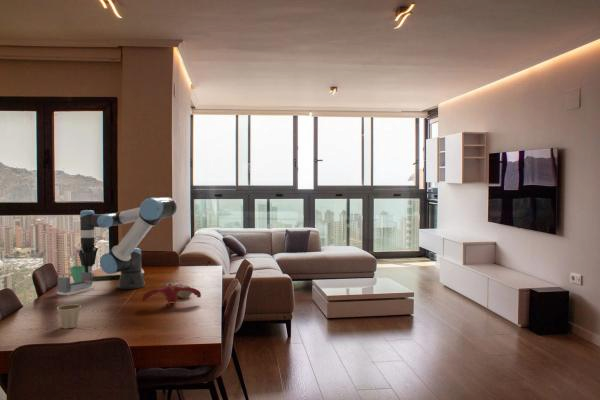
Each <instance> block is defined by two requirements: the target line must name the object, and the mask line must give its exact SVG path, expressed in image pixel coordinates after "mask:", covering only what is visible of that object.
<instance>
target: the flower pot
mask: <svg viewBox="0 0 600 400" xmlns="http://www.w3.org/2000/svg"><path fill="white" fill-rule="evenodd" d="M81 308H82V305H81V304H65V305H60V306H58V307H57V308H56V310H57V311H58V312H57V313H58V314H59V318H60V324H61V325H60V326H61V328H62V329H70V328H71V329H74V328H76V327H78V324H79V323H78V322H79V315H80V310H81Z"/></svg>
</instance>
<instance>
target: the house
mask: <svg viewBox="0 0 600 400" xmlns="http://www.w3.org/2000/svg"><path fill="white" fill-rule="evenodd" d="M141 271H142V276H143V277H144V274H145V271H144V269H143V268H141ZM91 272H92V276H93V278H94V277H95V278H94V279H100V278H101V279H104V280H107V279H108V277H110V276H120V275H121V272H117V273H114V274H107V273H105V272H104V271H103V270H102V268H101V267H100V268H98V269H94V270H92V271H91ZM115 279H118V277H115Z"/></svg>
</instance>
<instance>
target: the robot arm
mask: <svg viewBox="0 0 600 400" xmlns="http://www.w3.org/2000/svg"><path fill="white" fill-rule="evenodd" d="M176 212H177V203H176V201H175V200H174V199H173V198H171V197H169V196H168V197H167V196H163V197H162V196H161V197H149V198H146V199H144V200H143V201H142V202H141V203H140V205H139V207H135V208H131V209H126V210H123V211H122V210H121V211H117V212H112V213H111V212H110V213H101V214H99V213H98V214H97V213H95V211H94V210H91V209H89V210H88V209H85V210H84V209H83V210H80V213H79V214H80V215H79V220H80V221H79V222H80V224H79V226H80V237H81V238H80V248H79V249H78V250H77V253H78V256H79V262H80V266H84V267H85V272H91V271H93V266H94V265H95V264H96V260H97V259H96V258H97V254H98V250H99V248H98V247H96V246H95V243H96V241H95V239H96V238H95V235H96V234H95V233H96V232H95V228H102V229H106V228H107V229H108V228H110V227H113V226H123V225H125V224H129V223H130V224H131V223H133V225H132V226H131V227H130V229H129V230H128V231H127V233H126V234H125V235H124V236H123V238H122V239H121V241H120V242H119V243H118V244H117V245H114V246H113V247H112V248H111V249H110V250H109V251H108V252H107V253H104V254H102V255H101V257H100V259H99V264H100V268H102V270H103V271H104V272H105V273H107V274H114V273H117V272H121V275H119V279H118V283H117V288H118V289H120V290H121V289H122V290H129V289H130V290H131V289H140V288H143V287H145V285H146V282H145V280H144V275H143V276H142V271H141V269H142V250H141V249H140V248H139V247H138V245H140V243H141V241H142V240H143V239H144V238H145V236H146V235H147V234H148V232H149V231H150V230H151V229H152V228H153V227H156V226H158V225H159V223H160V222H161V221H162V219H168V218H171V217H173V216H174V215H175V213H176Z"/></svg>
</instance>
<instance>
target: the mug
mask: <svg viewBox="0 0 600 400" xmlns="http://www.w3.org/2000/svg"><path fill="white" fill-rule="evenodd" d="M69 269H70V273H71V277H72V280H73V283H75V282H79V281H82V280H81V272H85V267H84V266H82V265H75V266H71V267H69Z"/></svg>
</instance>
